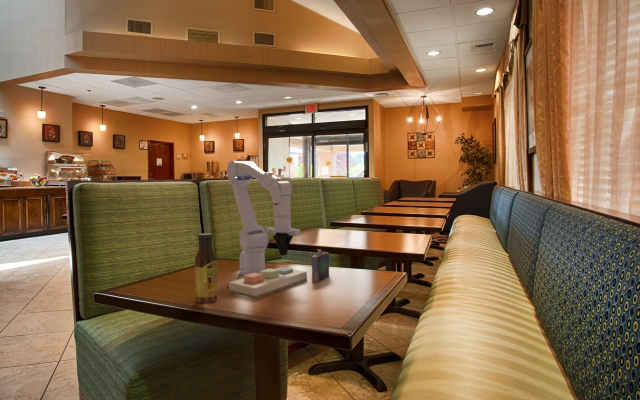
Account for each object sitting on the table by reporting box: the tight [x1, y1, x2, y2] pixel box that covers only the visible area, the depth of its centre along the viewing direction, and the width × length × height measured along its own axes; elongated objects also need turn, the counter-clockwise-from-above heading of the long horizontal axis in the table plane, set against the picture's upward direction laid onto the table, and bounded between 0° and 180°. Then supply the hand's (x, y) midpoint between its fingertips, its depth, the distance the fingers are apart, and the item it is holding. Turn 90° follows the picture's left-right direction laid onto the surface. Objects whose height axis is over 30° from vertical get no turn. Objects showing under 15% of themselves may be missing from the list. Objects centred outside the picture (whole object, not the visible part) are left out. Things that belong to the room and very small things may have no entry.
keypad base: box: [228, 266, 308, 299], centre depth 123 cm, size 12×24×3 cm, turn 142°
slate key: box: [275, 266, 294, 275], centre depth 128 cm, size 4×4×3 cm
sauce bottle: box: [194, 233, 219, 304], centre depth 109 cm, size 7×6×20 cm
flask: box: [311, 248, 330, 283], centre depth 130 cm, size 9×3×11 cm, turn 146°
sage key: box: [260, 267, 279, 279], centre depth 122 cm, size 4×4×3 cm
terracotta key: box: [243, 273, 264, 285], centre depth 117 cm, size 4×4×3 cm
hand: (283, 255), depth 128 cm, fingers closed
